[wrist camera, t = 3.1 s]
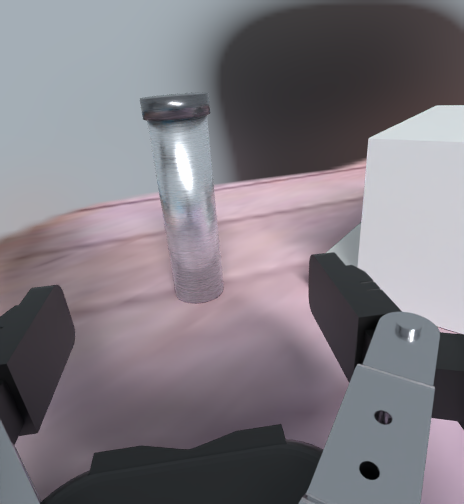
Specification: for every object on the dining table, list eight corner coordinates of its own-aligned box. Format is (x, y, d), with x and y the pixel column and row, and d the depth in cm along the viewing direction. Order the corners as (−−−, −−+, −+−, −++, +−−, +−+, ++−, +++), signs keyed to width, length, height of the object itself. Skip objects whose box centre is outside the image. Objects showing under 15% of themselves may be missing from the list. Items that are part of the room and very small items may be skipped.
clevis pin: (161, 294, 24) (125, 100, 19) (198, 271, 27) (175, 93, 22) (201, 311, 22) (172, 98, 17) (237, 285, 25) (222, 91, 20)
